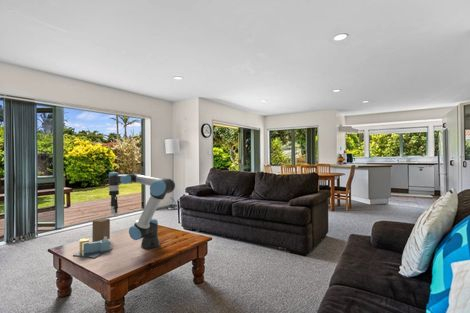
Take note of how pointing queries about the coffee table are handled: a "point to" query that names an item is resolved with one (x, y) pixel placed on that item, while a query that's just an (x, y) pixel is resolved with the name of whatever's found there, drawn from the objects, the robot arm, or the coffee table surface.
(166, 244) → the coffee table surface
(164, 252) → the coffee table surface
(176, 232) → the coffee table surface
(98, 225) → the wooden block
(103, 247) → the link
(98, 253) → the plate
